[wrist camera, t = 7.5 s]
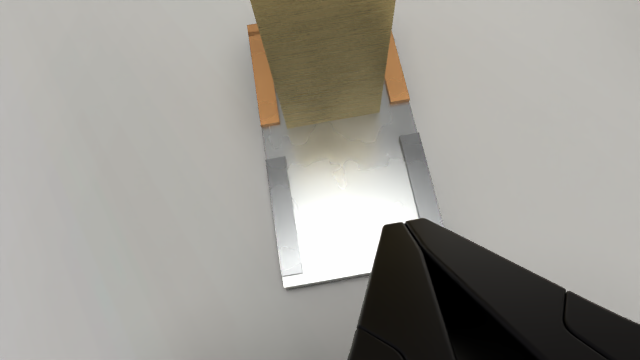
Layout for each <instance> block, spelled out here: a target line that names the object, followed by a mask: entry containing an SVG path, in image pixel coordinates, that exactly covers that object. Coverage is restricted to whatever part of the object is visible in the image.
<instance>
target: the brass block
mask: <svg viewBox="0 0 640 360" xmlns="http://www.w3.org/2000/svg"><path fill="white" fill-rule="evenodd" d="M250 1H251V5H252V8H253V12H254V15H255V19H256V22H257V26H258V29H259V33H260V36H261V39H262V43H263V46H264V50H265V53H266V57H267V60H268V64H269V67H270V71H271V74H272V78H273V81H274V85H275V88H276V92H277V95H278V99H279V102H280V106H281V109H282V113H283V116H284V119H285V123H286V126H287V129H288V128H294V127H300V126H305V125H311V124H317V123H322V122H328V121H333V120H339V119H345V118H350V117H356V116H362V115H367V114H373V113H378V112H380V106H381V99H382V92H383V85H384V78H385V71H386V64H387V57H388V50H389V43H390V36H391V29H392V22H393V15H394V8H395V1H396V0H250Z"/></svg>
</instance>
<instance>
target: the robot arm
mask: <svg viewBox="0 0 640 360" xmlns="http://www.w3.org/2000/svg"><path fill="white" fill-rule="evenodd" d="M347 360H640V324H638V323H636V322H633V321H631V320H629V319H626V318H624V317H622V316H620V315H618V314H616V313H614V312H612V311H609V310H607V309H605V308H603V307H601V306H599V305H597V304H595V303H593V302H591V301H589V300H587V299H585V298H583V297H581V296H579V295H577V294H575V293H573V292H571V291H567V292H566V289H565V288H563V287H561V286H559V285H557V284H555V283H553V282H551V281H549V280H547V279H545V278H543V277H541V276H539V275H537V274H535V273H533V272H531V271H529V270H527V269H525V268H523V267H521V266H519V265H517V264H515V263H513V262H511V261H509V260H507V259H505V258H503V257H501V256H499V255H497V254H495V253H493V252H492V251H490V250H488V249H486V248H484V247H482V246H480V245H478V244H476V243H474V242H472V241H470V240H468V239H466V238H464V237H462V236H460V235H458V234H456V233H454V232H452V231H450V230H448V229H446V228H444V227H442V226H440V225H438V224H436V223H434V222H432V221H430V220H428V219H426V218H419V219H413V220H408V221H406V222H405V224H404V223H403V222H396V223H391V224H385V225H384V226H383V227H382V231H381V235H380V239H379V243H378V247H377V250H376V254H375V258H374V262H373V266H372V270H371V274H370V278H369V281H368V285H367V289H366V293H365V297H364V301H363V305H362V309H361V313H360V316H359V320H358V324H357V330H356V331H355V335H354V339H353V343H352V346H351V349H350V353H349V356H348V359H347Z"/></svg>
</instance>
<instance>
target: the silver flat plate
mask: <svg viewBox="0 0 640 360" xmlns="http://www.w3.org/2000/svg"><path fill="white" fill-rule="evenodd" d="M247 27H248V35H249V42H250V49H251V57H252V64H253V71H254V79H255V86H256V93H257V100H258V108H259V115H260V122H261V127H262V132H263V139H264V147H265V154H266V166H267V173H268V181H269V188H270V195H271V203H272V210H273V217H274V225H275V232H276V239H277V246H278V254H279V261H280V268H281V276H282V277H283V285H284V288H285V289H286V290H288V289H294V288H299V287H305V286H310V285H316V284H322V283H327V282H333V281H339V280H344V279H350V278H355V277H361V276H367V275H370V274H371V270H372V266H373V262H374V258H375V254H376V250H377V247H378V243H379V239H380V235H381V231H382V227H383V226H384V225H385V224H391V223H396V222H403V223H404V224H405V222H406V221H408V220H413V219H419V218H426V219H428V220H430V221H432V222H434V223H436V224H438V225H440V226H442V227H444V224H443V221H442V217H441V213H440V209H439V206H438V202H437V198H436V195H435V191H434V187H433V183H432V180H431V176H430V172H429V168H428V165H427V161H426V157H425V154H424V150H423V146H422V142H421V139H420V135H419V132H418V133H417V129H416V126H415V122H414V118H413V114H412V111H411V107H410V103H409V100H410V98H409V94H408V90H407V87H406V83H405V79H404V75H403V72H402V68H401V64H400V60H399V57H398V53H397V49H396V46H395V42H394V38H393V34H392V31H391V36H390V43H389V50H388V57H387V64H386V71H385V78H384V85H383V92H382V99H381V106H380V112H378V113H373V114H367V115H362V116H356V117H350V118H345V119H339V120H333V121H328V122H322V123H317V124H311V125H305V126H300V127H294V128H288V129H287V126H286V123H285V119H284V116H283V113H282V109H281V106H280V102H279V99H278V95H277V92H276V88H275V85H274V81H273V78H272V74H271V71H270V67H269V64H268V60H267V57H266V53H265V50H264V46H263V43H262V39H261V36H260V33H259V29H258V26H257V24H252V25H247Z"/></svg>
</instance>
